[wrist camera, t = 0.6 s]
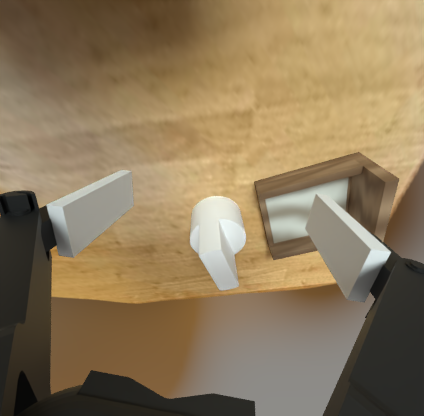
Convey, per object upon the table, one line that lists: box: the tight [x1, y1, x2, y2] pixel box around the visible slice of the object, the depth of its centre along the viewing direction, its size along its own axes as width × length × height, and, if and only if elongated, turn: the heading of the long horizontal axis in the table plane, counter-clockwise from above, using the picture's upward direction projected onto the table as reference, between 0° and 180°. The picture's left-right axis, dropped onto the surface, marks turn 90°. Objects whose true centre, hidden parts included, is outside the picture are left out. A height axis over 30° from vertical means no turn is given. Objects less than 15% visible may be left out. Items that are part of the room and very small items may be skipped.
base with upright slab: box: [190, 196, 246, 290], centre depth 34 cm, size 9×9×12 cm
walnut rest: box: [255, 152, 399, 260], centre depth 34 cm, size 16×16×8 cm
